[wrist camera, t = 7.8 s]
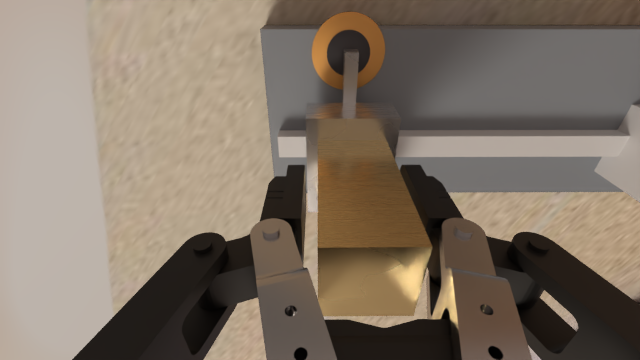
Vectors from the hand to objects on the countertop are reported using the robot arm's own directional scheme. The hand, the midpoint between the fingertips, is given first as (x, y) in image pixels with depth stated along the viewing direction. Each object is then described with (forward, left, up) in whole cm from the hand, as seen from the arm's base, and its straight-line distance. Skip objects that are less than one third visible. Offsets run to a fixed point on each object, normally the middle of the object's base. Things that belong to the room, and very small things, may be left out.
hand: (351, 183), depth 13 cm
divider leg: (0, -1, -4) cm, 4 cm away
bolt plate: (-7, -1, -6) cm, 9 cm away
